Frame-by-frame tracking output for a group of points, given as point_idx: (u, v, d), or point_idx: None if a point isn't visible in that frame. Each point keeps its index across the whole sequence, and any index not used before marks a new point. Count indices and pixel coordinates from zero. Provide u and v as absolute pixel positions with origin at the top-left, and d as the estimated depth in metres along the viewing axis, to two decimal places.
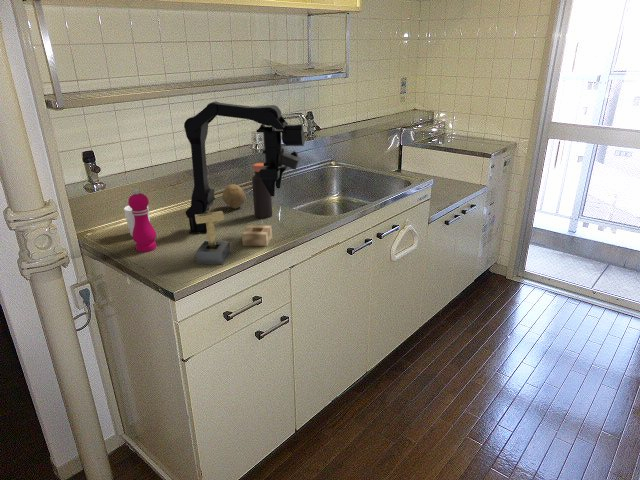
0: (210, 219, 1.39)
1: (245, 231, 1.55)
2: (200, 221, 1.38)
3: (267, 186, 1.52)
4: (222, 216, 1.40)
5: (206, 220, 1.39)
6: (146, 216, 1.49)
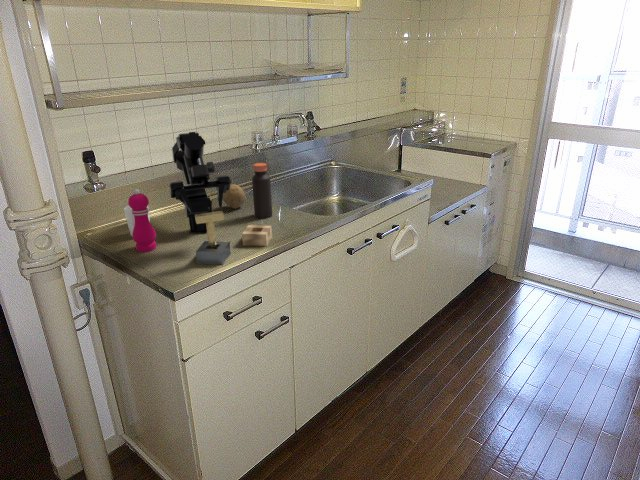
0: (210, 219, 1.39)
1: (245, 231, 1.55)
2: (200, 221, 1.38)
3: (184, 204, 1.47)
4: (222, 216, 1.40)
5: (206, 220, 1.39)
6: (146, 216, 1.49)
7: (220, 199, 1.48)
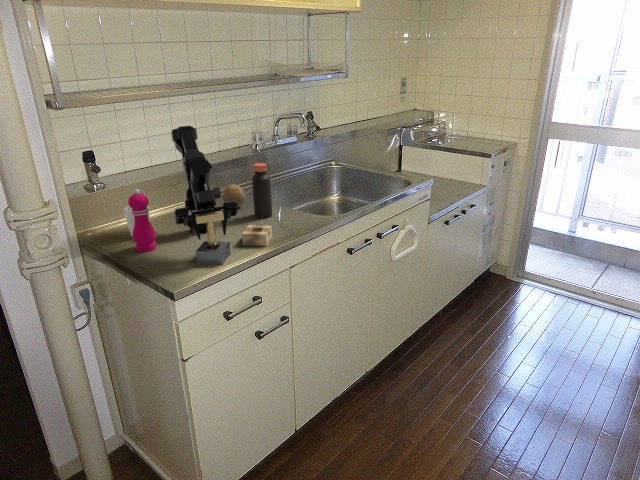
0: (210, 219, 1.39)
1: (245, 231, 1.55)
2: (200, 221, 1.38)
3: (193, 230, 1.42)
4: (222, 216, 1.40)
5: (206, 220, 1.39)
6: (146, 216, 1.49)
7: (224, 226, 1.42)
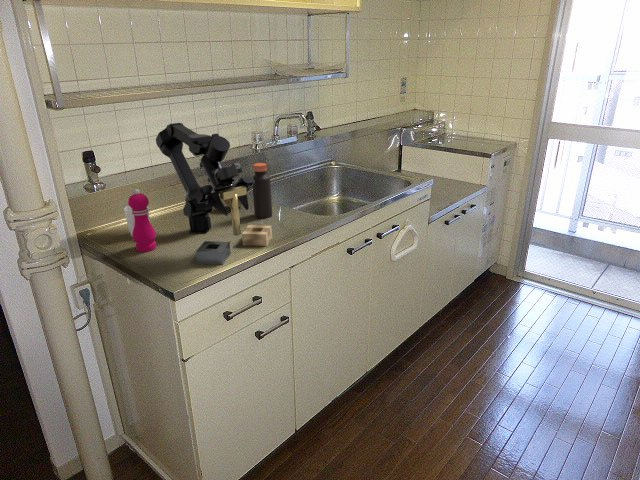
0: (235, 194, 1.42)
1: (245, 231, 1.55)
2: (227, 197, 1.40)
3: (216, 207, 1.43)
4: (245, 191, 1.44)
5: (232, 195, 1.41)
6: (146, 216, 1.49)
7: (246, 200, 1.46)
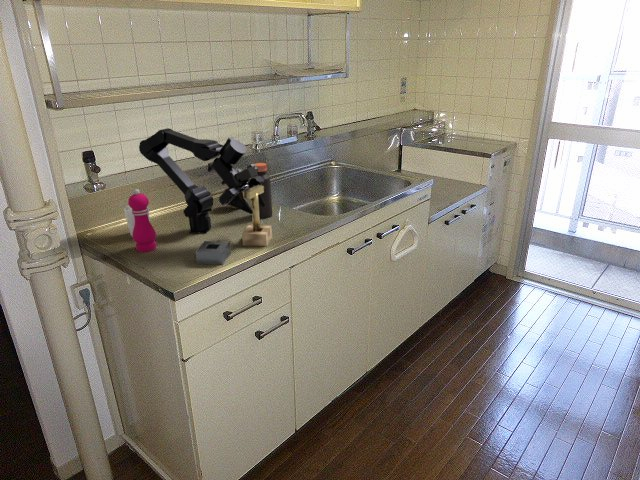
0: (257, 193, 1.51)
1: (245, 231, 1.55)
2: (252, 196, 1.48)
3: (240, 207, 1.49)
4: (263, 189, 1.54)
5: (255, 194, 1.50)
6: (146, 216, 1.49)
7: (262, 198, 1.56)
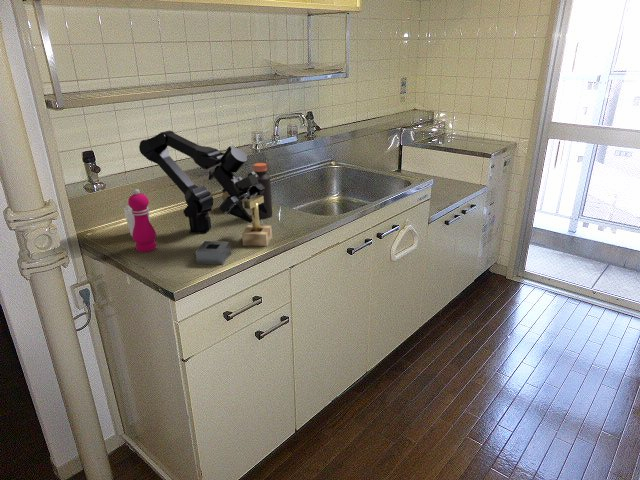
0: (257, 203, 1.53)
1: (245, 231, 1.55)
2: (252, 206, 1.50)
3: (240, 216, 1.50)
4: (263, 199, 1.55)
5: (255, 204, 1.52)
6: (146, 216, 1.49)
7: (264, 205, 1.57)
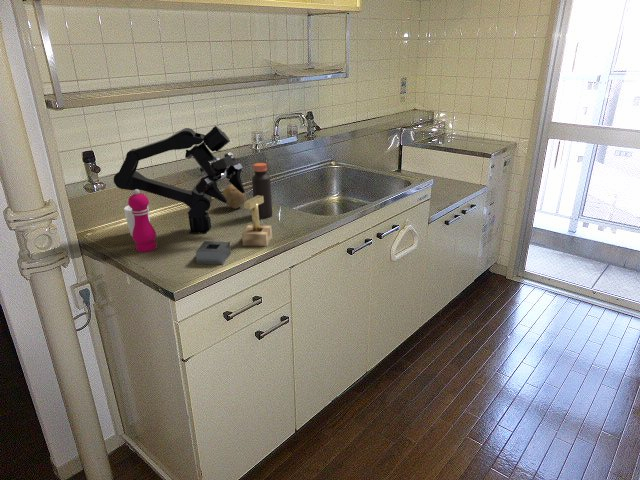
0: (257, 203, 1.52)
1: (245, 231, 1.55)
2: (252, 206, 1.50)
3: (215, 196, 1.54)
4: (263, 199, 1.55)
5: (255, 204, 1.51)
6: (146, 216, 1.49)
7: (241, 185, 1.61)
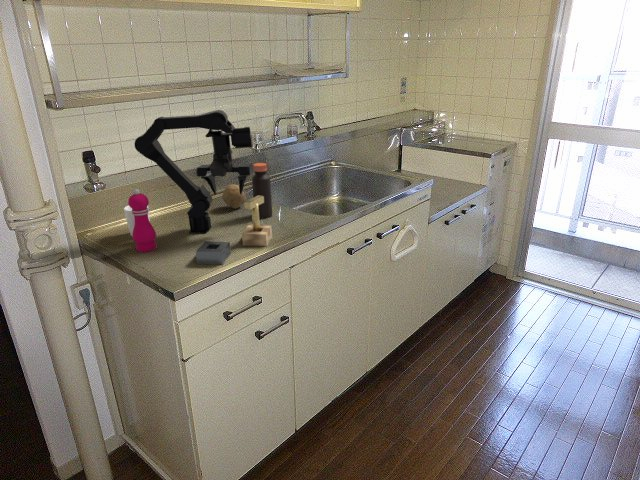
0: (257, 203, 1.52)
1: (245, 231, 1.55)
2: (252, 206, 1.50)
3: None
4: (263, 199, 1.55)
5: (255, 205, 1.51)
6: (146, 216, 1.49)
7: (240, 187, 1.61)
